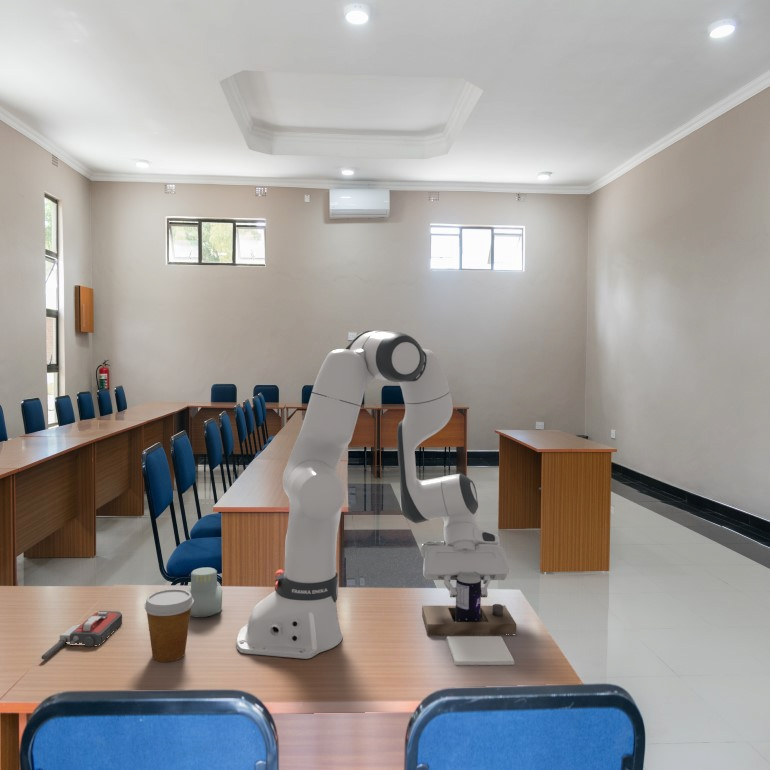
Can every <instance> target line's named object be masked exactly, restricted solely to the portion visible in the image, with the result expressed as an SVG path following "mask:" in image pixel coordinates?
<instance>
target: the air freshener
mask: <svg viewBox="0 0 770 770" xmlns="http://www.w3.org/2000/svg"><path fill="white" fill-rule="evenodd" d="M217 575H218V570H217V569H215V568H213V567H210V566H209V567H208V566H207V567H199V568H196V569H193V570H192V571H191V573H190V587H189V588H188V589H186V590H187V591H189V592H190V593H191V595H192V598H193V599H194V602H193V604H192V607H191V612H190V617H191V616H192V617H196V618H205V617H210V616H214V615H215V614H218V613H219V612H221V611H222V608H223V607H222V606H223V588H222V587H221V586H219V585H218V576H217Z"/></svg>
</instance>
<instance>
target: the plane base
mask: <svg viewBox="0 0 770 770" xmlns="http://www.w3.org/2000/svg"><path fill="white" fill-rule="evenodd" d="M421 607H422V609H421V616H422V621H423V625H424V628H425V632H426V636H513V635H512V634H516V635H517V623H516V621H515V619H514V618H513V616H512V614H511V613H510V611H509V610H508V608H507V607H506V605H503V604H499V603H495V604H492V605H481V606H480V620H481V621H480V622H456V621H454V619H455V614H456V605H421ZM506 634H507V635H506ZM508 634H509V635H508ZM510 634H511V635H510Z"/></svg>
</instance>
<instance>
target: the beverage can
mask: <svg viewBox="0 0 770 770" xmlns="http://www.w3.org/2000/svg"><path fill="white" fill-rule="evenodd" d="M479 576H480V575H479V573H477V572H474V573H473V572H462V573H461V572H459V573H458V577H457V579H456V580H455V587H456V588H457V591H456V592H457V597H455V606H456V614H455V618H454V619H455V620H454V622H481V618H480V606H482V604H481V603H482V601H481V600H482V599H481V598H482V597H481V587H482V580H481V579H480V577H479Z"/></svg>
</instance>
